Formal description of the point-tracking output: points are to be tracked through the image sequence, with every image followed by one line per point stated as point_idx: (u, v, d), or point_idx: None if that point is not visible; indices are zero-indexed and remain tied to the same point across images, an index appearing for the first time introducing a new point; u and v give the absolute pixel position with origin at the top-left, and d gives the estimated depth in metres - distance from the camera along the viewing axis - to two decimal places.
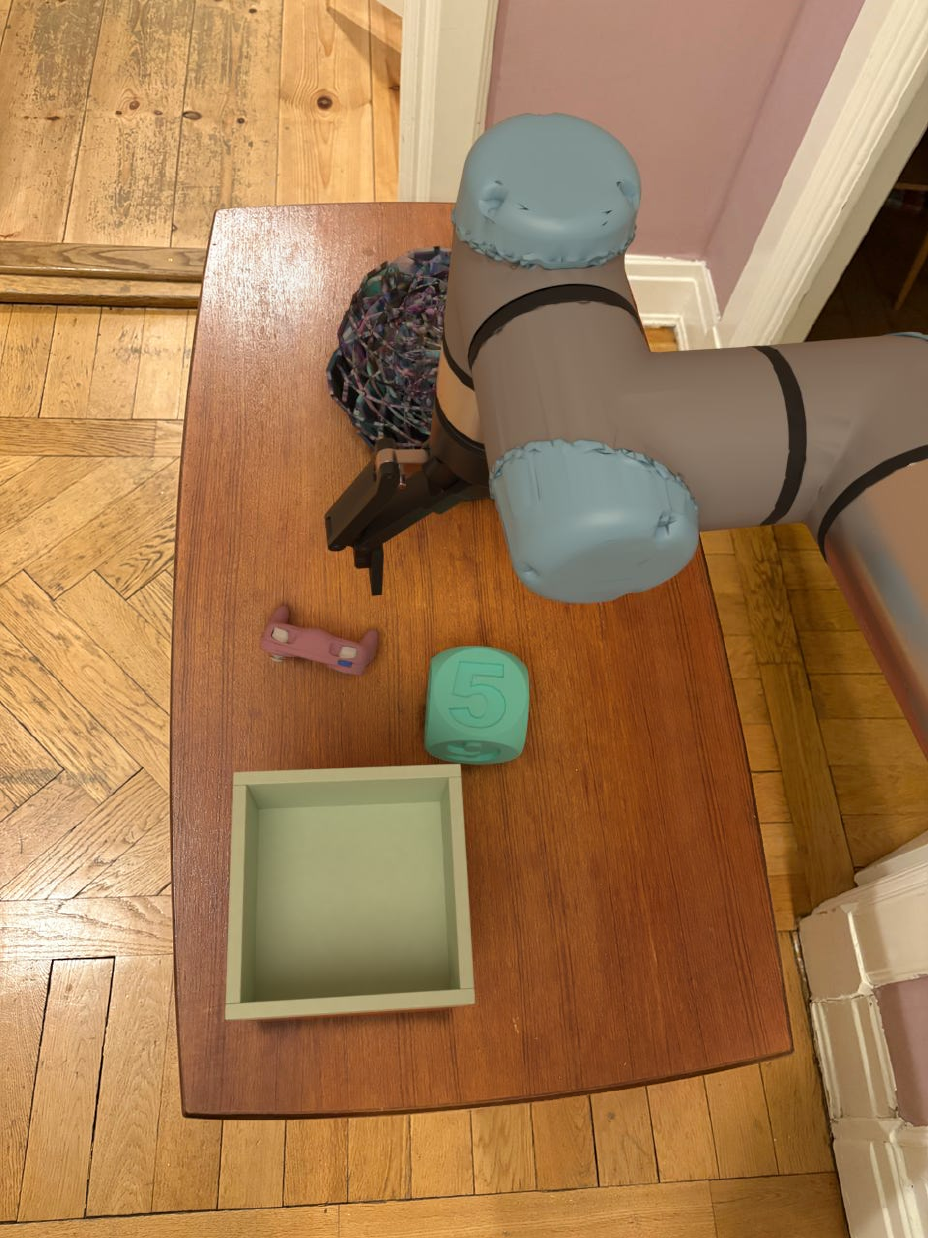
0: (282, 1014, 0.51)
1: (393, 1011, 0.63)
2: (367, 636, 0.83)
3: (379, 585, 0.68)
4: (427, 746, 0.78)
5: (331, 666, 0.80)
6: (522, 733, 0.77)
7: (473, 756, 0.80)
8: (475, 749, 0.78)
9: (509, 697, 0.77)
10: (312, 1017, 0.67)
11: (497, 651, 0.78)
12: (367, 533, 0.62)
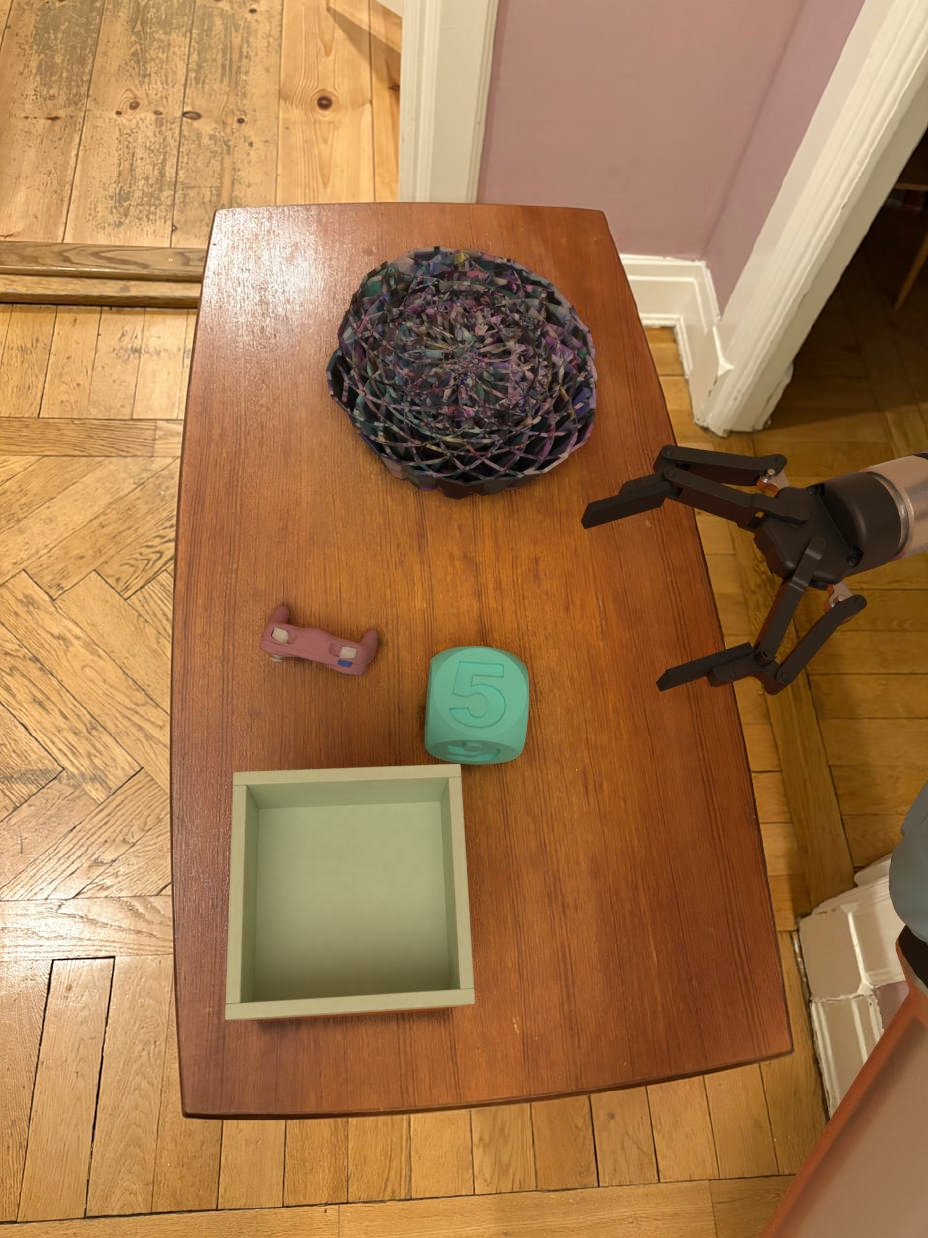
0: (282, 1014, 0.51)
1: (393, 1011, 0.63)
2: (367, 636, 0.83)
3: (611, 503, 0.69)
4: (427, 746, 0.78)
5: (331, 666, 0.80)
6: (522, 733, 0.77)
7: (473, 756, 0.80)
8: (475, 749, 0.78)
9: (509, 697, 0.77)
10: (312, 1017, 0.67)
11: (497, 650, 0.78)
12: None
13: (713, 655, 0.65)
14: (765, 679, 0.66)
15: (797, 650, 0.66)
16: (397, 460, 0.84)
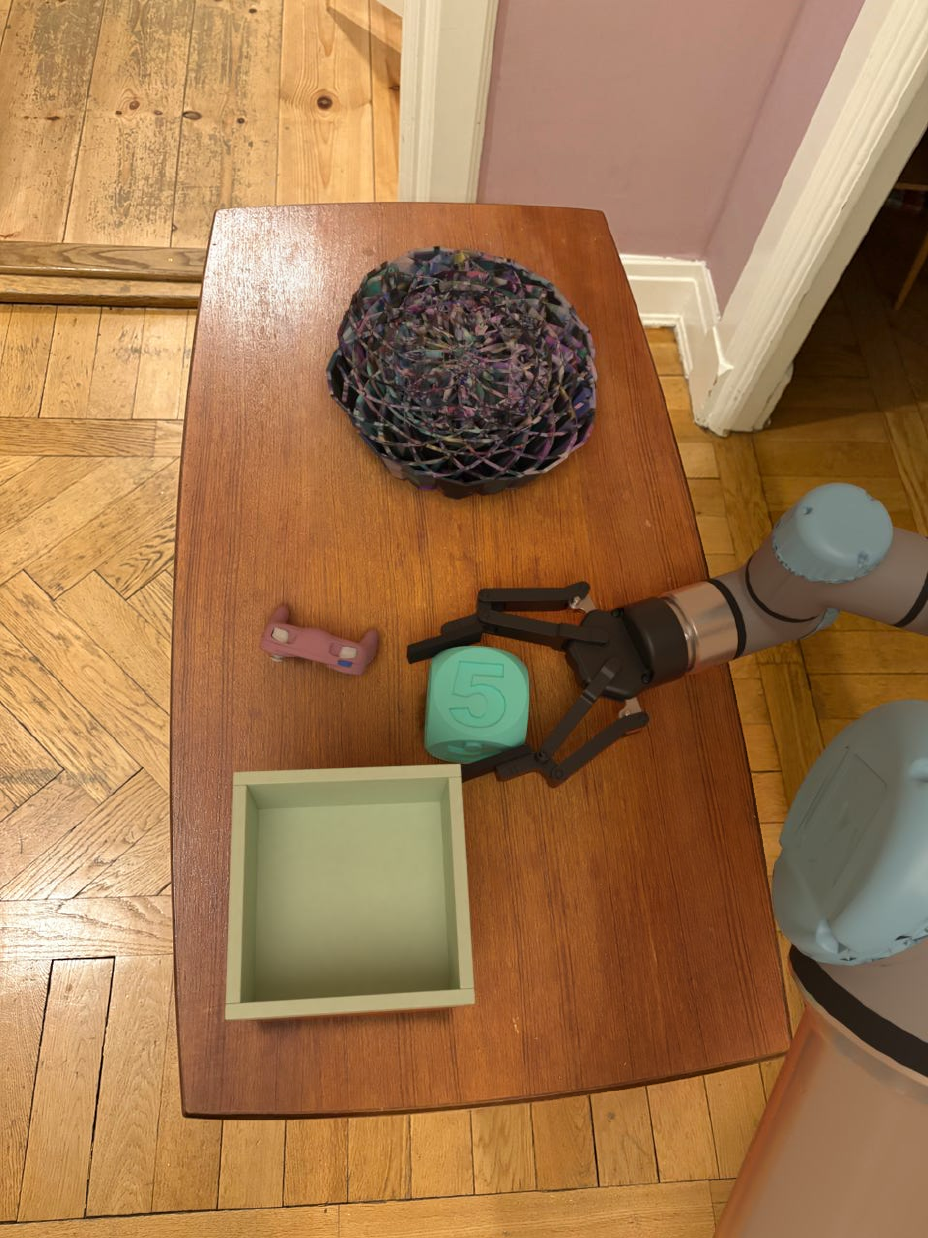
0: (282, 1014, 0.51)
1: (393, 1011, 0.63)
2: (367, 636, 0.83)
3: (428, 645, 0.78)
4: (427, 746, 0.78)
5: (331, 666, 0.80)
6: (522, 733, 0.77)
7: (473, 756, 0.80)
8: (475, 749, 0.78)
9: (509, 697, 0.77)
10: (312, 1017, 0.67)
11: (497, 650, 0.78)
12: None
13: (496, 755, 0.75)
14: (544, 775, 0.76)
15: (575, 753, 0.76)
16: (397, 460, 0.84)
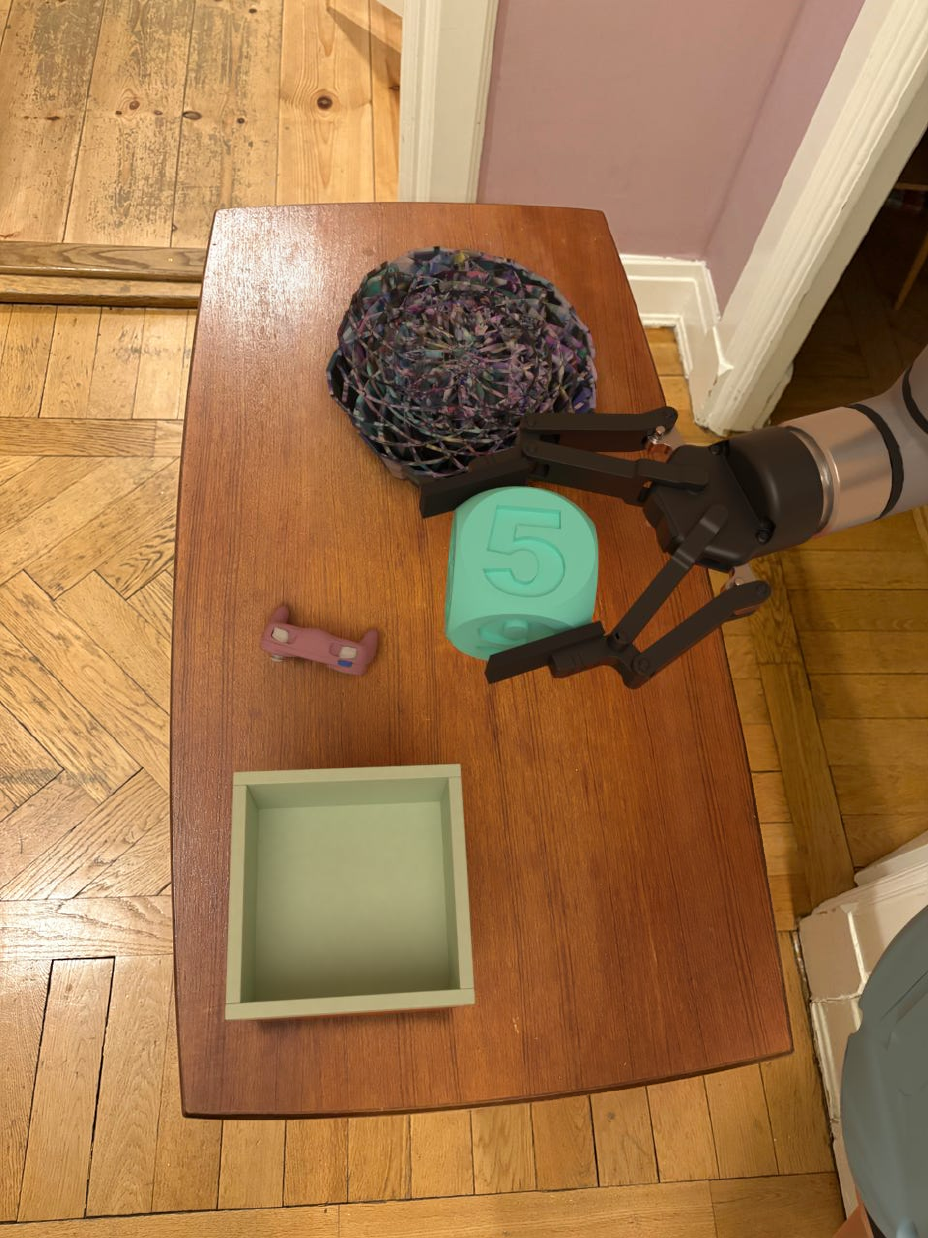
0: (282, 1014, 0.51)
1: (393, 1011, 0.63)
2: (367, 636, 0.83)
3: (451, 485, 0.54)
4: (450, 629, 0.54)
5: (331, 666, 0.80)
6: (589, 608, 0.53)
7: None
8: (520, 634, 0.54)
9: (570, 555, 0.53)
10: (312, 1017, 0.67)
11: (550, 492, 0.54)
12: None
13: (552, 637, 0.51)
14: (621, 668, 0.52)
15: (667, 635, 0.52)
16: (397, 460, 0.84)
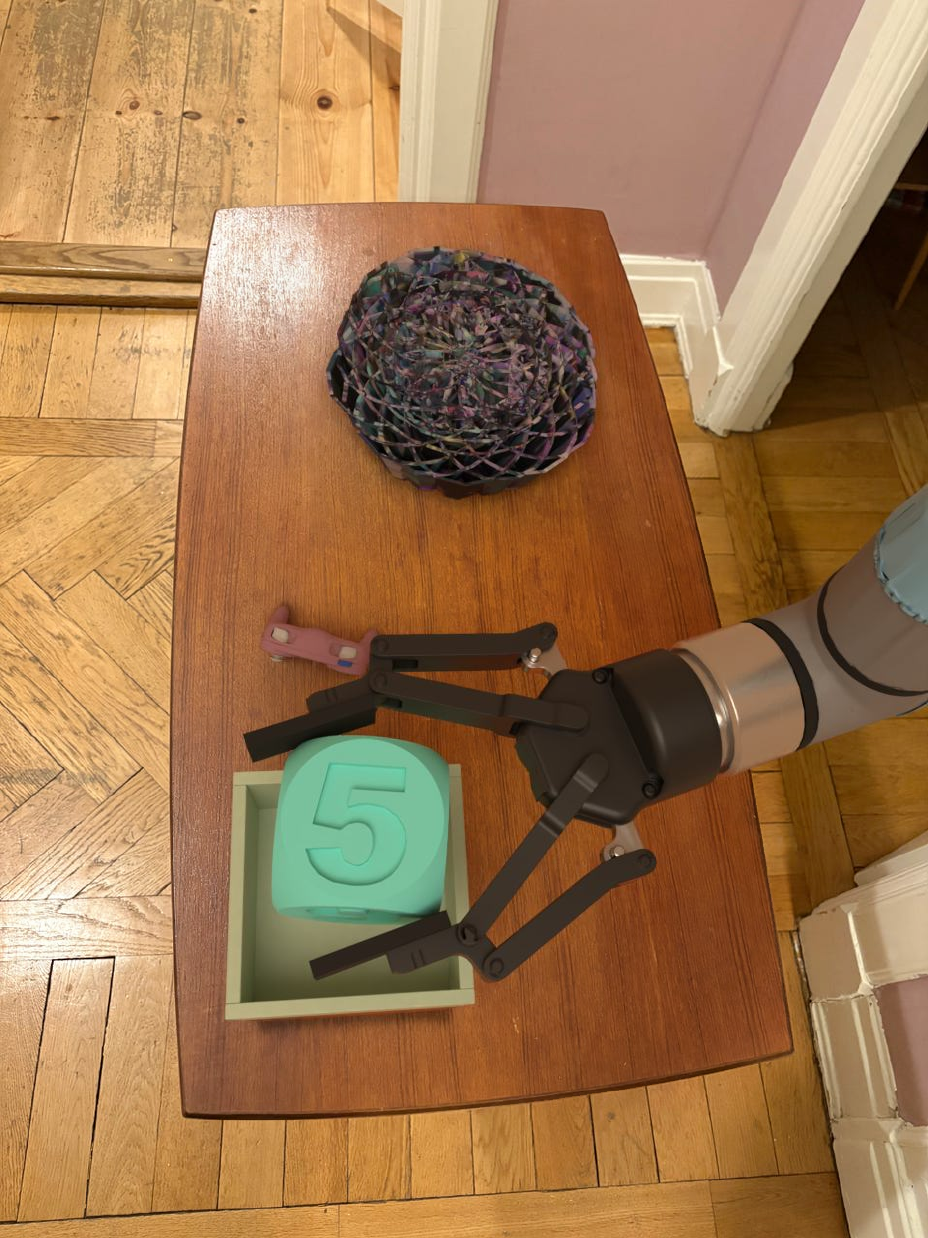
0: (282, 1014, 0.51)
1: (393, 1011, 0.63)
2: (367, 636, 0.83)
3: (279, 733, 0.46)
4: (275, 907, 0.45)
5: (331, 666, 0.80)
6: (436, 890, 0.44)
7: (358, 919, 0.47)
8: (358, 914, 0.45)
9: (413, 827, 0.44)
10: (312, 1017, 0.67)
11: (396, 744, 0.46)
12: None
13: (386, 935, 0.43)
14: (473, 964, 0.44)
15: (527, 926, 0.44)
16: (397, 460, 0.84)
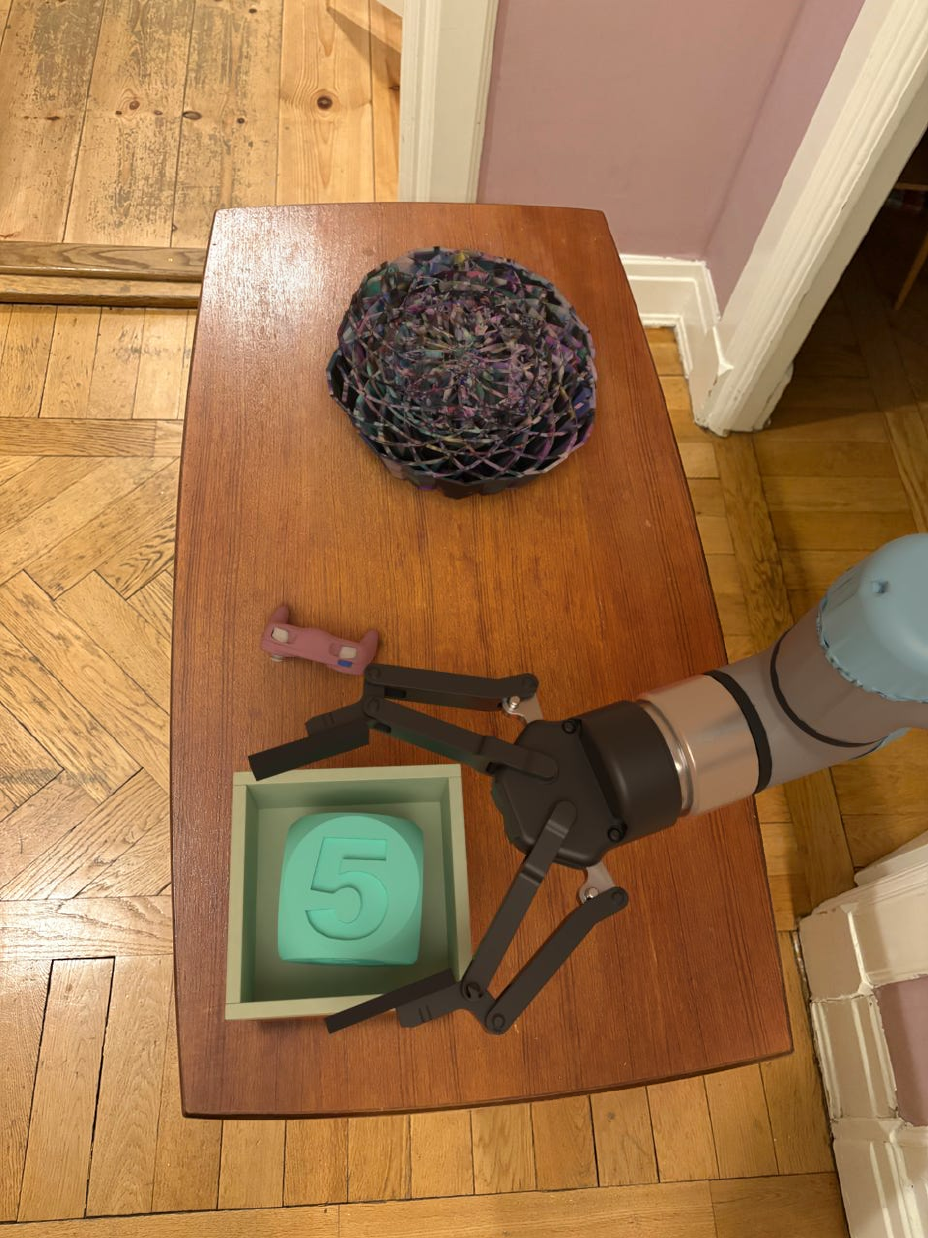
0: (282, 1014, 0.51)
1: (393, 1011, 0.63)
2: (367, 636, 0.83)
3: (281, 755, 0.50)
4: (281, 957, 0.55)
5: (331, 666, 0.80)
6: (414, 941, 0.54)
7: (350, 963, 0.57)
8: (349, 961, 0.55)
9: (394, 890, 0.53)
10: (312, 1017, 0.67)
11: (378, 819, 0.55)
12: None
13: (396, 992, 0.46)
14: (476, 1018, 0.47)
15: (520, 979, 0.47)
16: (397, 460, 0.84)
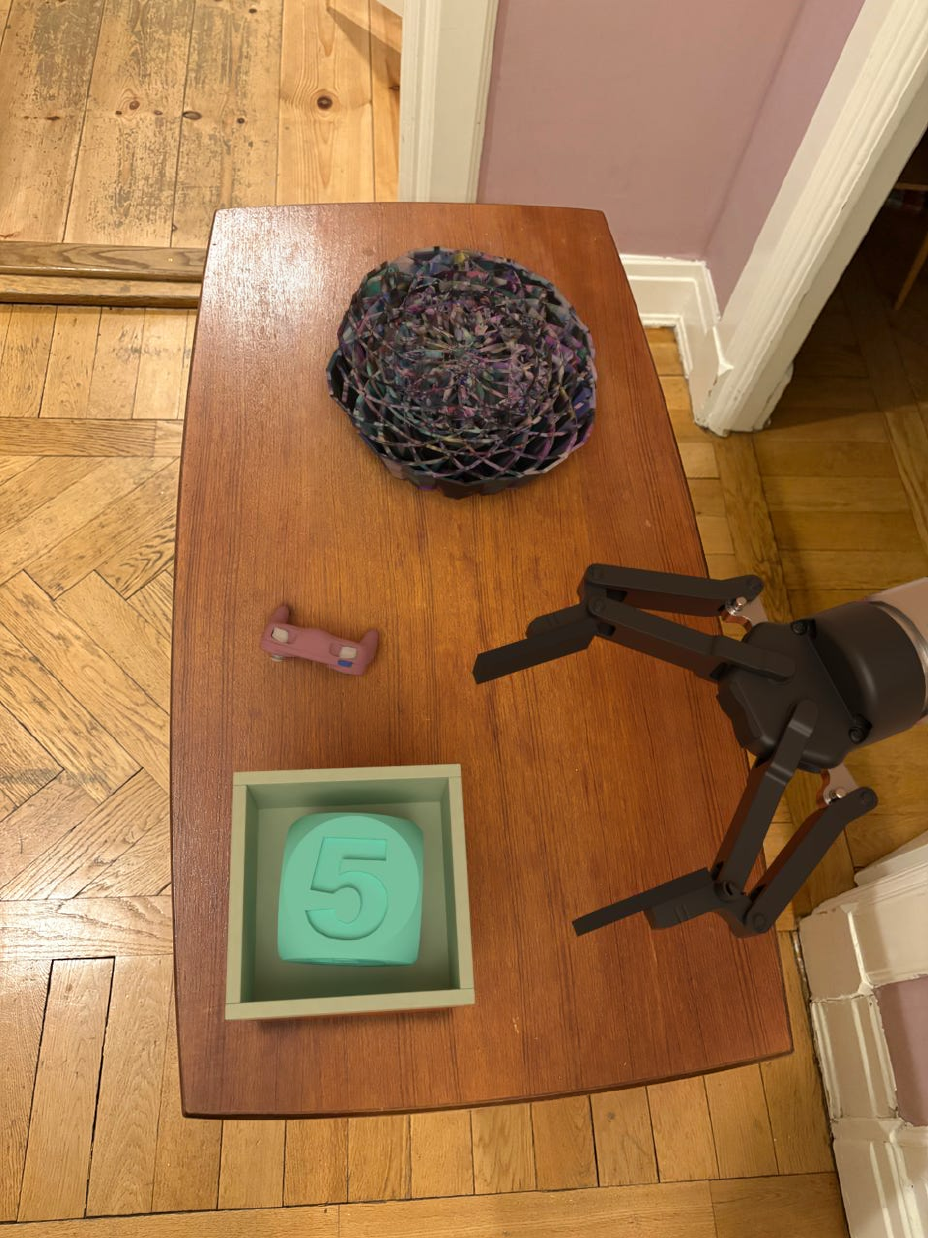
0: (282, 1014, 0.51)
1: (393, 1011, 0.63)
2: (367, 636, 0.83)
3: (511, 653, 0.48)
4: (281, 957, 0.55)
5: (331, 666, 0.80)
6: (414, 941, 0.54)
7: (350, 963, 0.57)
8: (349, 961, 0.55)
9: (393, 890, 0.53)
10: (312, 1017, 0.67)
11: (378, 819, 0.55)
12: None
13: (653, 890, 0.44)
14: (730, 920, 0.45)
15: (777, 878, 0.45)
16: (397, 460, 0.84)
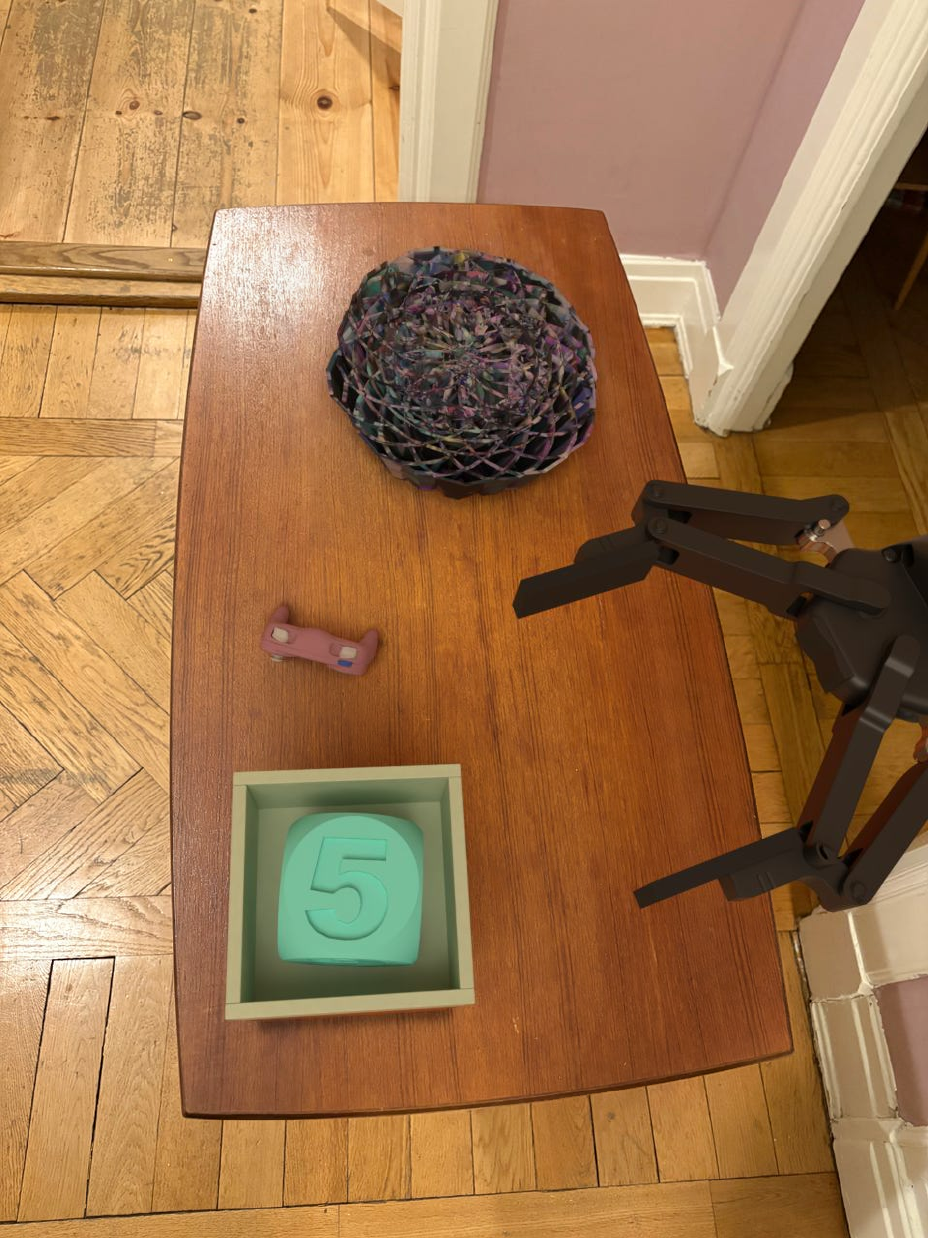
0: (282, 1014, 0.51)
1: (393, 1011, 0.63)
2: (367, 636, 0.83)
3: (560, 579, 0.41)
4: (281, 957, 0.55)
5: (331, 666, 0.80)
6: (414, 941, 0.54)
7: (350, 963, 0.57)
8: (349, 961, 0.55)
9: (393, 890, 0.53)
10: (312, 1017, 0.67)
11: (378, 819, 0.55)
12: None
13: (732, 854, 0.37)
14: (821, 889, 0.38)
15: (877, 840, 0.38)
16: (397, 460, 0.84)
